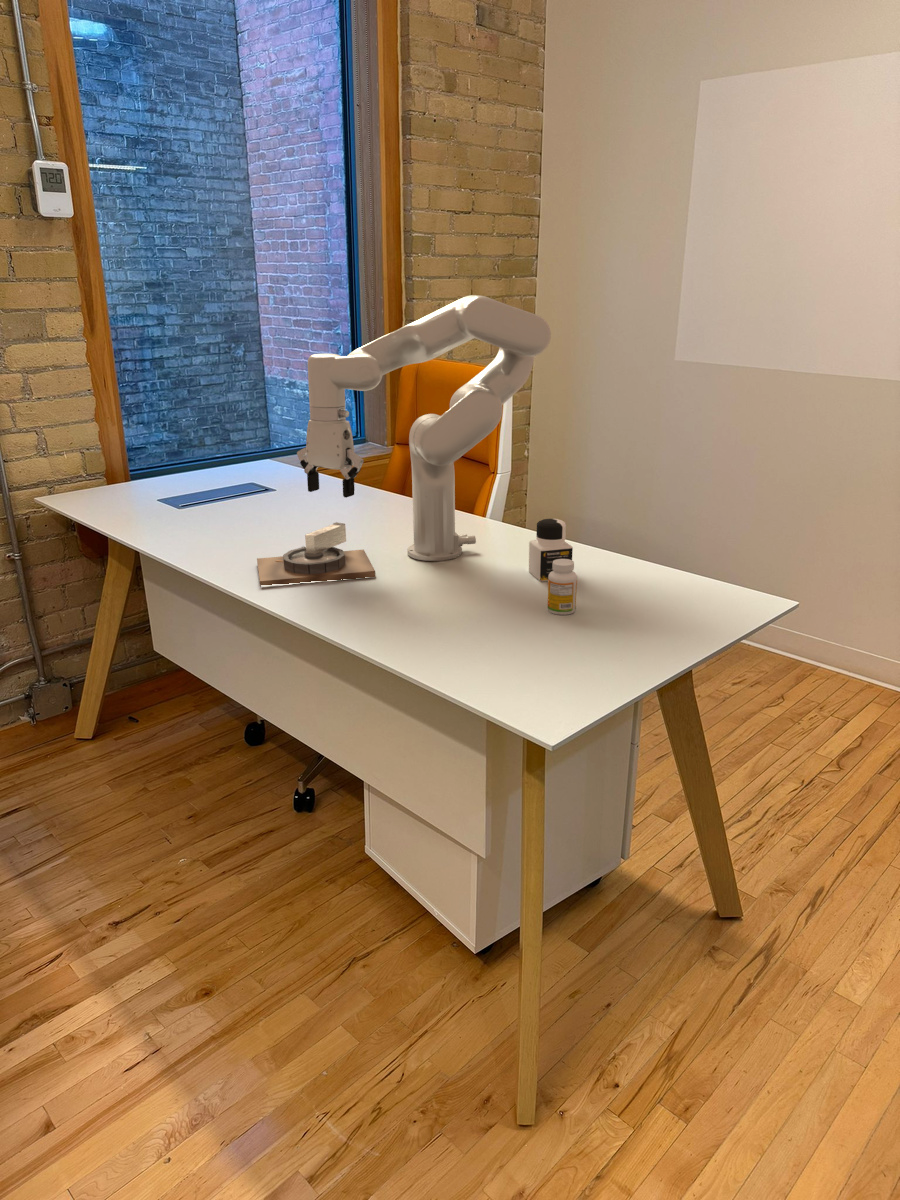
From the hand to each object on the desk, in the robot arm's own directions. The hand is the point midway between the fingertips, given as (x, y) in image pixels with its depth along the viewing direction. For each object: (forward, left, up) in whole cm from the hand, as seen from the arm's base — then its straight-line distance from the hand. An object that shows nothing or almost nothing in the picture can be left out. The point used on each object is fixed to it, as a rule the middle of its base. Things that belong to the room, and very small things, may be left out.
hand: (331, 493), depth 188 cm
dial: (+3, +4, -14) cm, 15 cm away
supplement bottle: (-38, +43, -16) cm, 59 cm away
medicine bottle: (-43, +23, -16) cm, 51 cm away
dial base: (+5, +6, -16) cm, 17 cm away
